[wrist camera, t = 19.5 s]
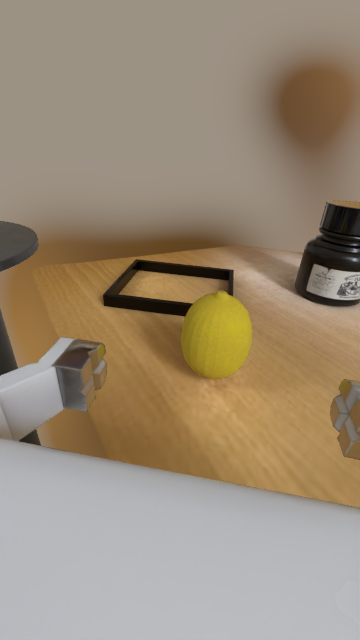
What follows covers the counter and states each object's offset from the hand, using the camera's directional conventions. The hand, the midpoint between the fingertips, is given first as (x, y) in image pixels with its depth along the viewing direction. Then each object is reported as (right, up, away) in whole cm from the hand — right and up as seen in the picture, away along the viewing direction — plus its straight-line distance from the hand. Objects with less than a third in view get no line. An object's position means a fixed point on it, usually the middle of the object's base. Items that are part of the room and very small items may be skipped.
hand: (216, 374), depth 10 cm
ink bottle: (+20, +5, +31) cm, 37 cm away
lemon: (+1, -3, +15) cm, 15 cm away
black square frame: (-2, +6, +29) cm, 30 cm away
